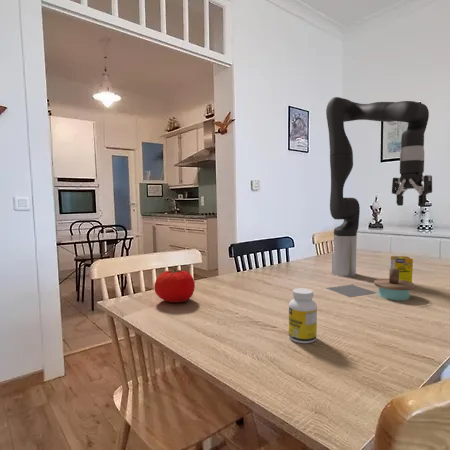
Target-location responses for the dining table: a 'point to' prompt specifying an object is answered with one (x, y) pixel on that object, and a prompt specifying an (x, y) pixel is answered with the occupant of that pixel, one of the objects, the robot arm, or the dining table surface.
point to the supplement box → (403, 267)
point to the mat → (351, 290)
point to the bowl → (394, 294)
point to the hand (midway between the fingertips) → (410, 205)
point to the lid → (394, 282)
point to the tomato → (174, 285)
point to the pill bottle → (302, 316)
